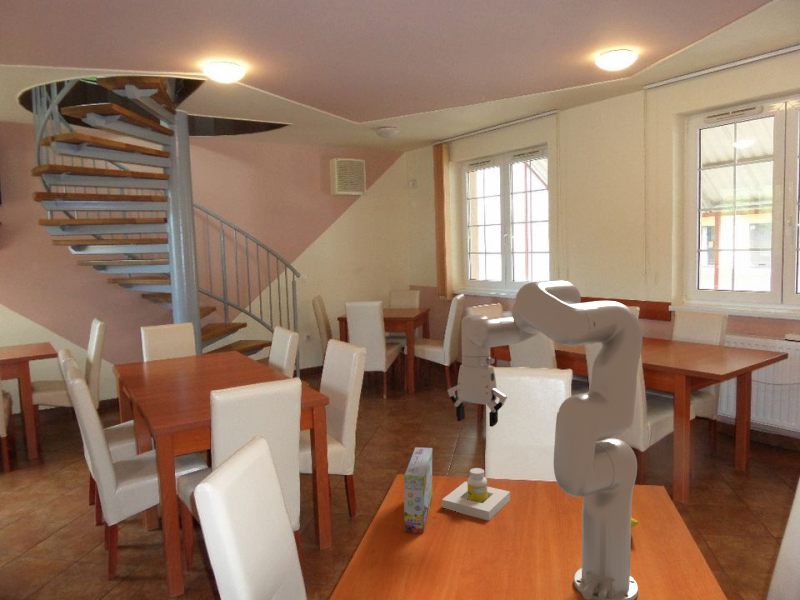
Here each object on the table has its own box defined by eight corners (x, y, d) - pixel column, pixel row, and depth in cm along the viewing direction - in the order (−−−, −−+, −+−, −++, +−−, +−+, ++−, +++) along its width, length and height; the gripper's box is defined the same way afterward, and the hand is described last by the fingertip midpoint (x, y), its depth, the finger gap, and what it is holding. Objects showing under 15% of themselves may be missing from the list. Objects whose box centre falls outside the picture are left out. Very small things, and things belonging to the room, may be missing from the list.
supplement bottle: (467, 500, 163) (467, 466, 162) (487, 500, 162) (486, 466, 162) (468, 509, 158) (467, 474, 157) (488, 509, 157) (487, 474, 156)
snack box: (425, 534, 145) (424, 476, 143) (403, 533, 146) (402, 475, 144) (433, 497, 166) (433, 446, 164) (414, 496, 166) (413, 445, 165)
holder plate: (489, 520, 151) (488, 511, 151) (442, 508, 158) (442, 499, 158) (510, 500, 162) (510, 491, 162) (465, 489, 170) (465, 481, 170)
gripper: (511, 361, 155) (511, 423, 156) (454, 355, 164) (455, 414, 166) (500, 366, 148) (500, 431, 150) (441, 360, 158) (442, 421, 160)
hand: (476, 422), depth 158 cm, fingers open, 9 cm apart
